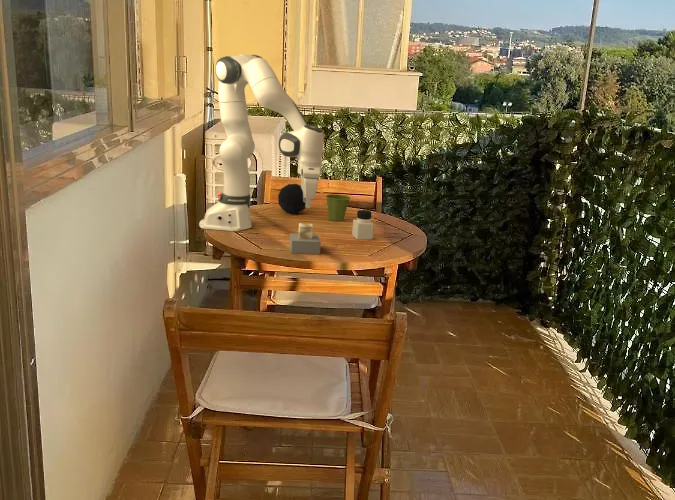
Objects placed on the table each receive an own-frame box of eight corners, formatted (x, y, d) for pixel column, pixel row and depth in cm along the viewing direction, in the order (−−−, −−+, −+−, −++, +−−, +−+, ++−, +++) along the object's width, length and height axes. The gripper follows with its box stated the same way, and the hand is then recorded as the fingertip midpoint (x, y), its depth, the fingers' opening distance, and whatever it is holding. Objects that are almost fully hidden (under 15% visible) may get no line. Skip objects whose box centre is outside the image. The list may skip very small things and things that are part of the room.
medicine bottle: (372, 239, 271) (375, 212, 267) (356, 239, 269) (359, 212, 265) (367, 235, 277) (369, 208, 274) (351, 235, 275) (354, 208, 272)
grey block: (291, 253, 243) (292, 240, 241) (289, 245, 253) (289, 233, 252) (319, 254, 245) (320, 241, 243) (316, 246, 255) (317, 234, 254)
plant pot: (344, 224, 293) (346, 200, 290) (320, 220, 297) (321, 197, 294) (352, 219, 304) (353, 196, 301) (328, 215, 307) (330, 192, 304)
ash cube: (299, 238, 245) (299, 226, 243) (298, 235, 250) (298, 223, 248) (312, 239, 246) (312, 226, 244) (310, 235, 250) (311, 223, 249)
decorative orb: (287, 196, 318) (281, 175, 306) (315, 200, 313) (309, 179, 301) (277, 217, 310) (270, 196, 298) (305, 222, 305) (299, 201, 294)
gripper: (298, 164, 249) (296, 198, 253) (303, 173, 230) (300, 210, 234) (314, 165, 250) (311, 199, 254) (320, 174, 231) (317, 211, 235)
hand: (306, 204), depth 244 cm, fingers open, 8 cm apart
